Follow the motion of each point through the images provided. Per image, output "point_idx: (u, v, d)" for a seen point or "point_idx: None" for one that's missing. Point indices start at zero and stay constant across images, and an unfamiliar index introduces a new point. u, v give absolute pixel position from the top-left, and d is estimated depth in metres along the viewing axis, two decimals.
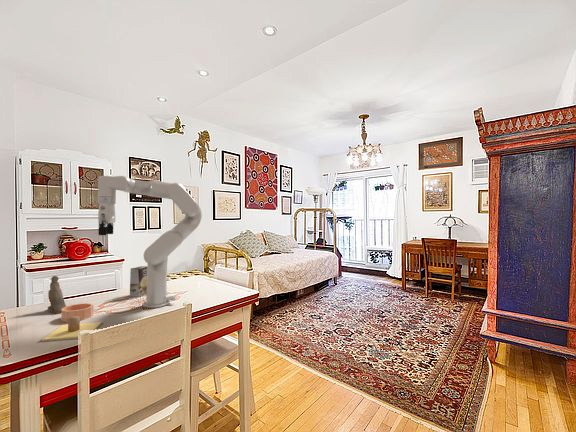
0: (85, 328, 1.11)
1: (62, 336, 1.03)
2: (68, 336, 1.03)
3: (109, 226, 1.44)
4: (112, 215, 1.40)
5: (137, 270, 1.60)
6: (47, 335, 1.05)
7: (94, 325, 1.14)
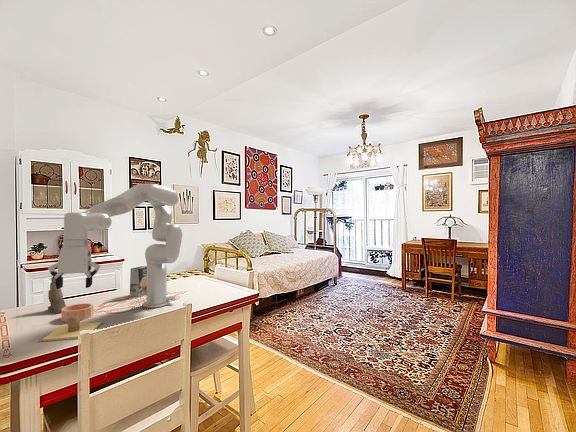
0: (85, 328, 1.11)
1: (62, 336, 1.03)
2: (68, 336, 1.03)
3: (60, 277, 1.08)
4: None
5: (137, 270, 1.60)
6: (47, 335, 1.05)
7: (94, 325, 1.14)
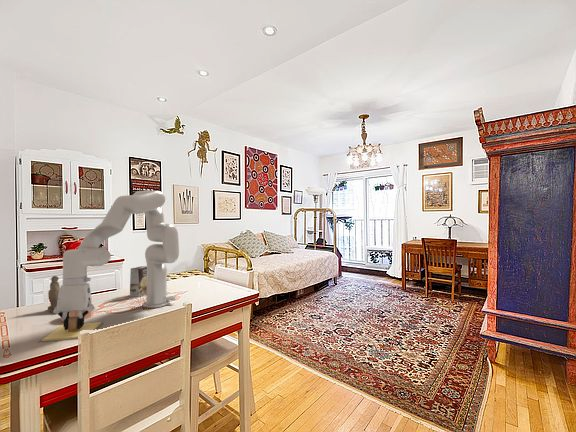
0: (85, 328, 1.11)
1: (62, 336, 1.03)
2: (68, 336, 1.03)
3: None
4: None
5: (137, 270, 1.60)
6: (47, 335, 1.05)
7: (94, 325, 1.14)
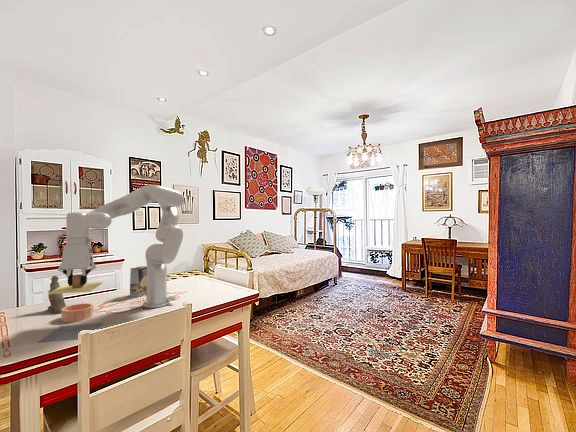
0: (88, 285, 1.19)
1: (67, 290, 1.11)
2: (73, 290, 1.12)
3: (72, 274, 1.17)
4: None
5: (137, 270, 1.60)
6: (47, 335, 1.05)
7: (96, 284, 1.22)
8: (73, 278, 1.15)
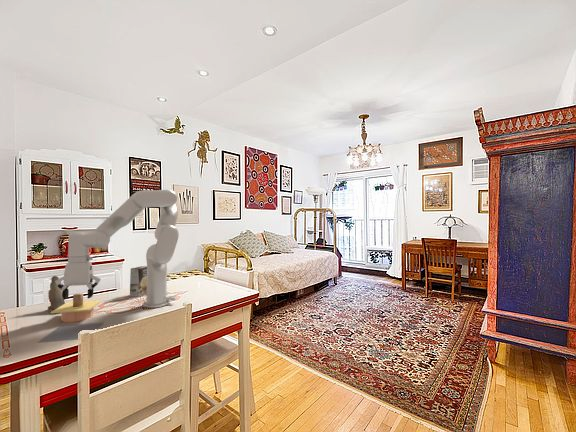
0: (88, 304, 1.26)
1: (68, 309, 1.19)
2: (73, 310, 1.19)
3: (66, 289, 1.24)
4: None
5: (137, 270, 1.60)
6: (47, 335, 1.05)
7: (95, 302, 1.30)
8: (74, 297, 1.23)
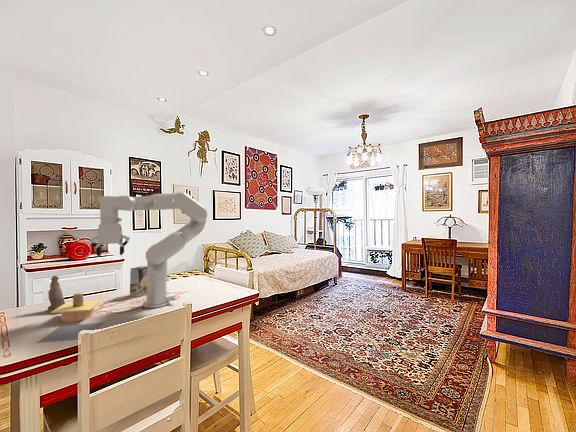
0: (88, 304, 1.26)
1: (68, 309, 1.19)
2: (73, 310, 1.19)
3: (99, 247, 1.37)
4: None
5: (137, 270, 1.60)
6: (47, 335, 1.05)
7: (95, 302, 1.30)
8: (74, 297, 1.23)
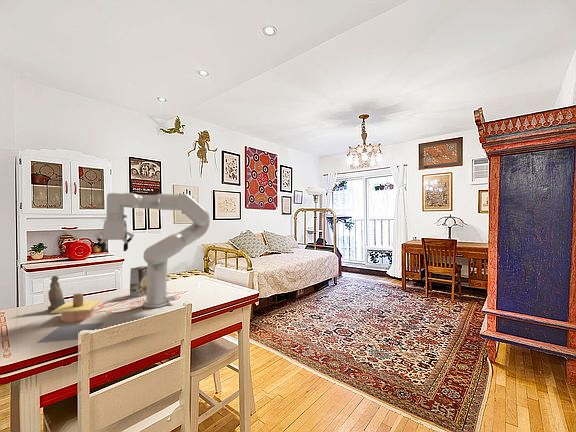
0: (88, 304, 1.26)
1: (68, 309, 1.19)
2: (73, 310, 1.19)
3: (104, 243, 1.40)
4: None
5: (137, 270, 1.60)
6: (47, 335, 1.05)
7: (95, 302, 1.30)
8: (74, 297, 1.23)
